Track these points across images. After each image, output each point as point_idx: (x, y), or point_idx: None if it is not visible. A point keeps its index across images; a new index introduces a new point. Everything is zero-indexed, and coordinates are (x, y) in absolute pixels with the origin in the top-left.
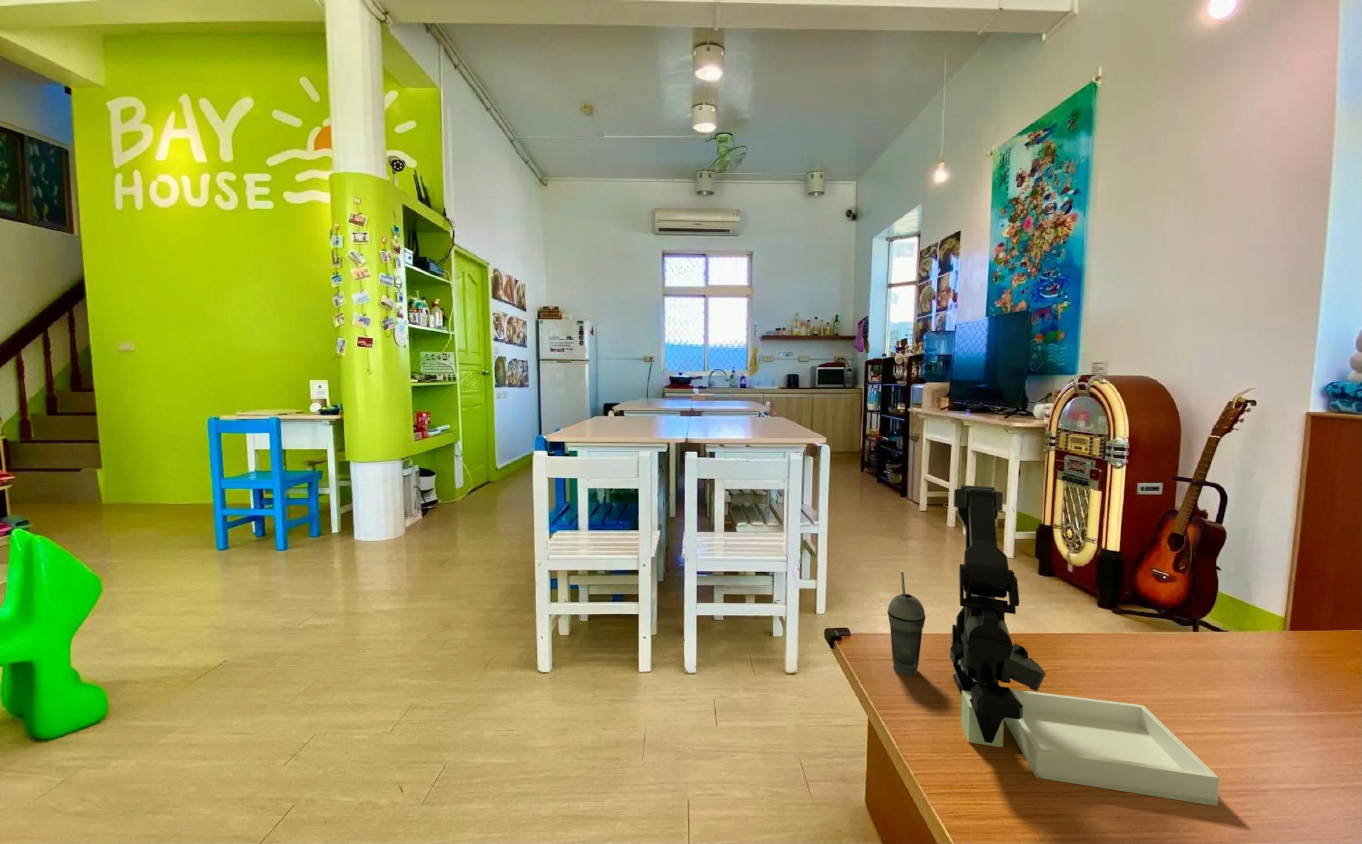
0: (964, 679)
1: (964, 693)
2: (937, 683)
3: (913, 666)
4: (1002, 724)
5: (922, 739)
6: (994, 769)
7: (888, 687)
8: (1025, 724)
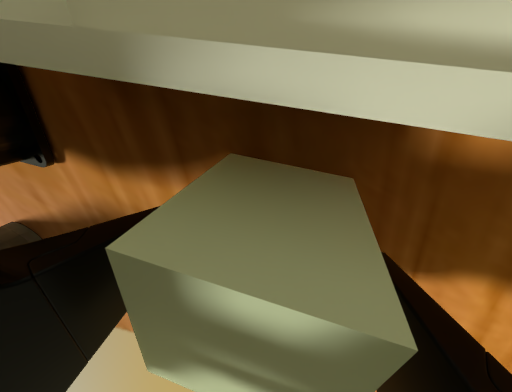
0: (47, 385)
1: (174, 381)
2: (43, 202)
3: None
4: (375, 248)
5: None
6: (484, 275)
7: None
8: (451, 73)
